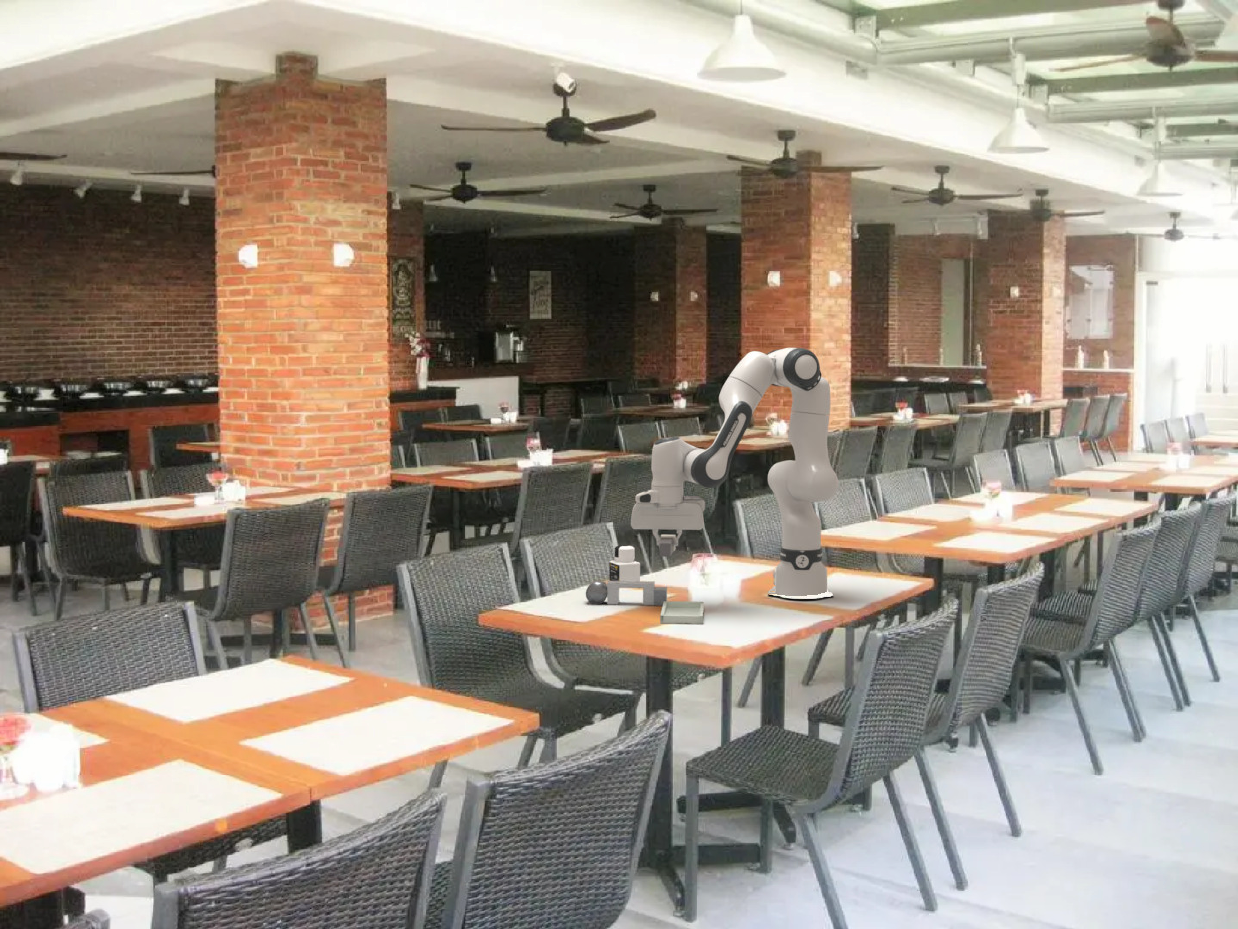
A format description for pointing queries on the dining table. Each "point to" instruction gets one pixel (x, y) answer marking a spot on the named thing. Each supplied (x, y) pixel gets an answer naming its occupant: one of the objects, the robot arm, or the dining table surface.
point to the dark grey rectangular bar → (667, 545)
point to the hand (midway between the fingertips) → (667, 545)
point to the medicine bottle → (624, 565)
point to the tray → (682, 612)
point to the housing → (601, 590)
